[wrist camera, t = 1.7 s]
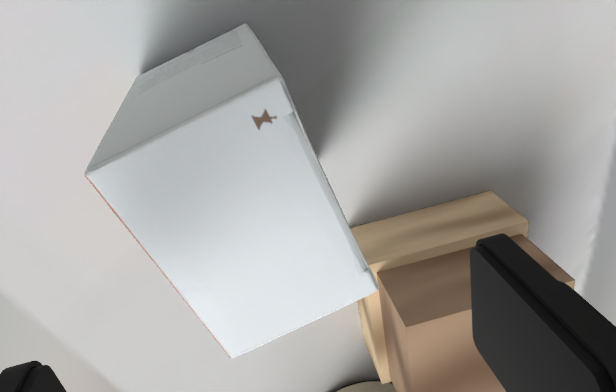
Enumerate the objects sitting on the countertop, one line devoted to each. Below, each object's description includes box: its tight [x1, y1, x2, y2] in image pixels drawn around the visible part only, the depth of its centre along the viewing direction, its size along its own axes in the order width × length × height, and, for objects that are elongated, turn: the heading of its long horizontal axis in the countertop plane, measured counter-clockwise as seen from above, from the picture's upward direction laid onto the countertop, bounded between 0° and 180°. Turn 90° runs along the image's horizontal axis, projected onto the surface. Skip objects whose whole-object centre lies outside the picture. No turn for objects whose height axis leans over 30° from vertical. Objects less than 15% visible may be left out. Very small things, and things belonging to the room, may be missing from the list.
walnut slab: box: [377, 234, 575, 392], centre depth 24 cm, size 8×8×4 cm
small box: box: [85, 23, 379, 358], centre depth 17 cm, size 8×6×10 cm
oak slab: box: [350, 190, 529, 384], centre depth 27 cm, size 9×9×4 cm
